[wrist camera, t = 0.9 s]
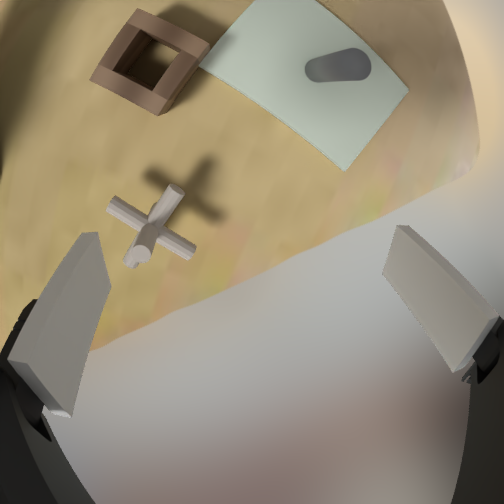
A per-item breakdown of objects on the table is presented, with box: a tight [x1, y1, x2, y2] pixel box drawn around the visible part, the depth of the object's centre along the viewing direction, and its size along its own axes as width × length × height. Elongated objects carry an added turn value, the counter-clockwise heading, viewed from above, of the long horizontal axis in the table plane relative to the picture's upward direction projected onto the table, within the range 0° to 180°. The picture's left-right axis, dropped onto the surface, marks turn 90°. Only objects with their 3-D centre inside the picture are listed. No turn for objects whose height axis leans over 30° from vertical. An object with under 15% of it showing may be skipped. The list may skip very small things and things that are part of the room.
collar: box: [90, 8, 210, 116], centre depth 21 cm, size 8×8×5 cm
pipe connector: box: [106, 183, 196, 268], centre depth 28 cm, size 10×10×10 cm
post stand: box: [198, 0, 409, 172], centre depth 21 cm, size 20×14×10 cm
